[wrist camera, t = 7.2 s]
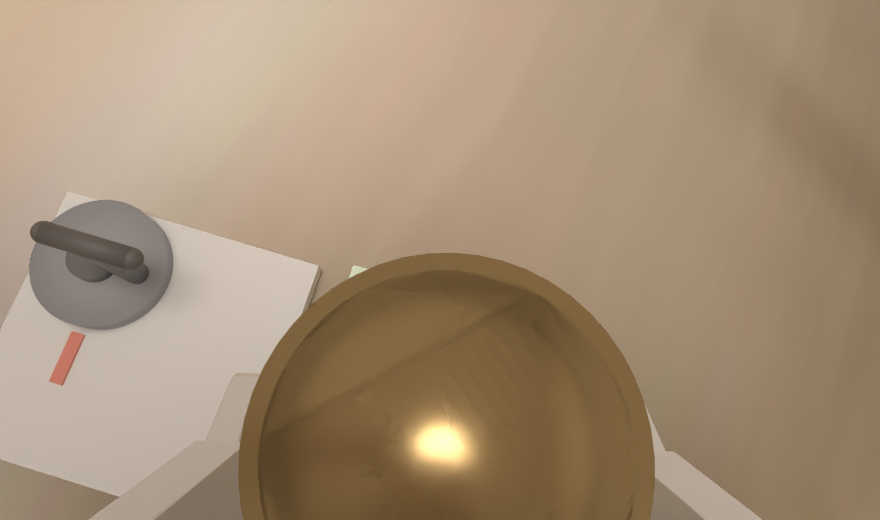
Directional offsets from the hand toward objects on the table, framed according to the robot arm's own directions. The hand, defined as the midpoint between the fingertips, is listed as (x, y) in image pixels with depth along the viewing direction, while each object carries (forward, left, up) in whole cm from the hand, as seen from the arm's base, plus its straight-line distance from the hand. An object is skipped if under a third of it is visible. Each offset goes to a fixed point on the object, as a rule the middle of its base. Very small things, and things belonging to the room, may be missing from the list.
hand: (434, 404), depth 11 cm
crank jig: (-13, -1, -19) cm, 23 cm away
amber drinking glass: (0, -1, -5) cm, 5 cm away
